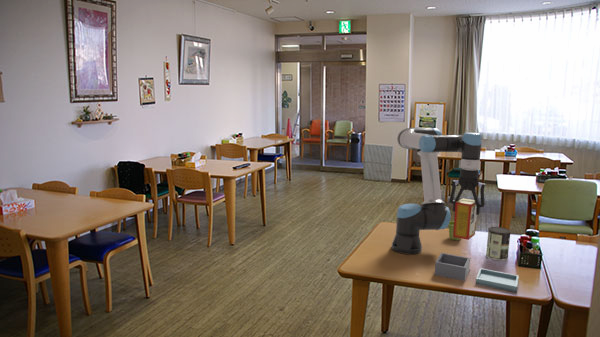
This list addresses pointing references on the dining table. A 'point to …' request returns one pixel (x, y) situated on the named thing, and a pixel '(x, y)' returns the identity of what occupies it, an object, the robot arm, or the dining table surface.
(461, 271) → the box
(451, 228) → the plant pot
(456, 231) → the baking soda box
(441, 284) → the dining table surface
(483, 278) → the tray
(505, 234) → the coffee can
